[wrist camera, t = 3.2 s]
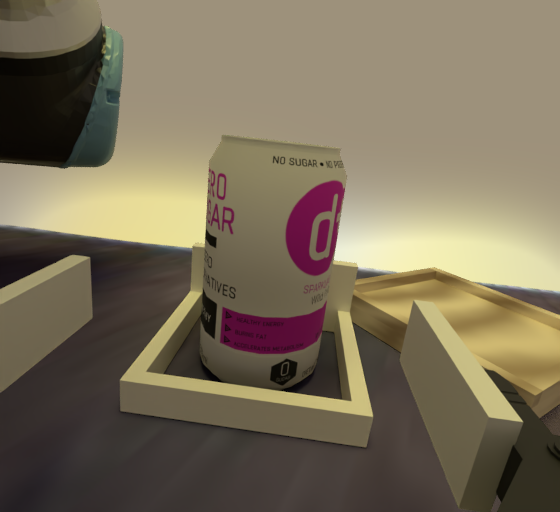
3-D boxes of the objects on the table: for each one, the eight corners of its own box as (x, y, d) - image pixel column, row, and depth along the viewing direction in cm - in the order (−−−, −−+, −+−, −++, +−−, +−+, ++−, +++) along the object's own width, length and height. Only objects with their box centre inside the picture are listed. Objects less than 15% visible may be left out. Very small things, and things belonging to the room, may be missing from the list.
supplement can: (336, 363, 28) (374, 152, 23) (261, 418, 21) (293, 144, 17) (255, 321, 32) (274, 139, 28) (174, 357, 26) (181, 130, 22)
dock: (120, 411, 21) (118, 312, 19) (193, 307, 34) (196, 242, 32) (366, 447, 20) (388, 349, 18) (344, 328, 33) (356, 263, 31)
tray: (329, 307, 37) (333, 283, 36) (429, 286, 46) (434, 267, 45) (522, 430, 23) (535, 395, 22) (613, 366, 32) (624, 340, 31)
